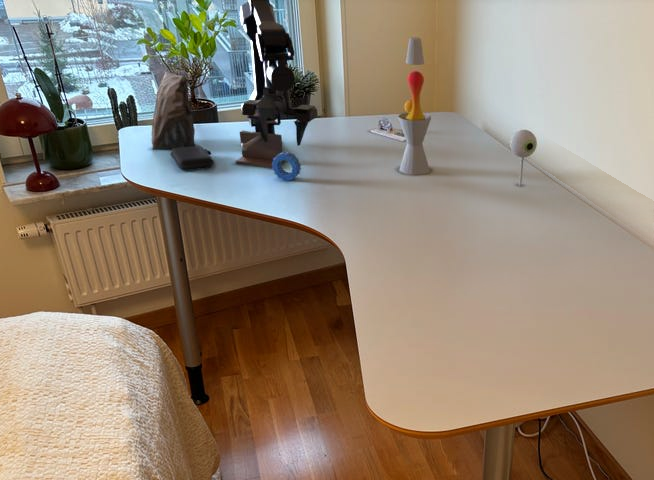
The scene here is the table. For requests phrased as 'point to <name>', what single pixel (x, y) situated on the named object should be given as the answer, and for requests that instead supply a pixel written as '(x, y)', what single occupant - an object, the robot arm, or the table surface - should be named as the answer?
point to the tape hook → (259, 149)
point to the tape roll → (293, 162)
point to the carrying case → (192, 158)
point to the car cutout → (388, 130)
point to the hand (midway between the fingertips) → (282, 143)
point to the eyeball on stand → (523, 146)
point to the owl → (172, 115)
